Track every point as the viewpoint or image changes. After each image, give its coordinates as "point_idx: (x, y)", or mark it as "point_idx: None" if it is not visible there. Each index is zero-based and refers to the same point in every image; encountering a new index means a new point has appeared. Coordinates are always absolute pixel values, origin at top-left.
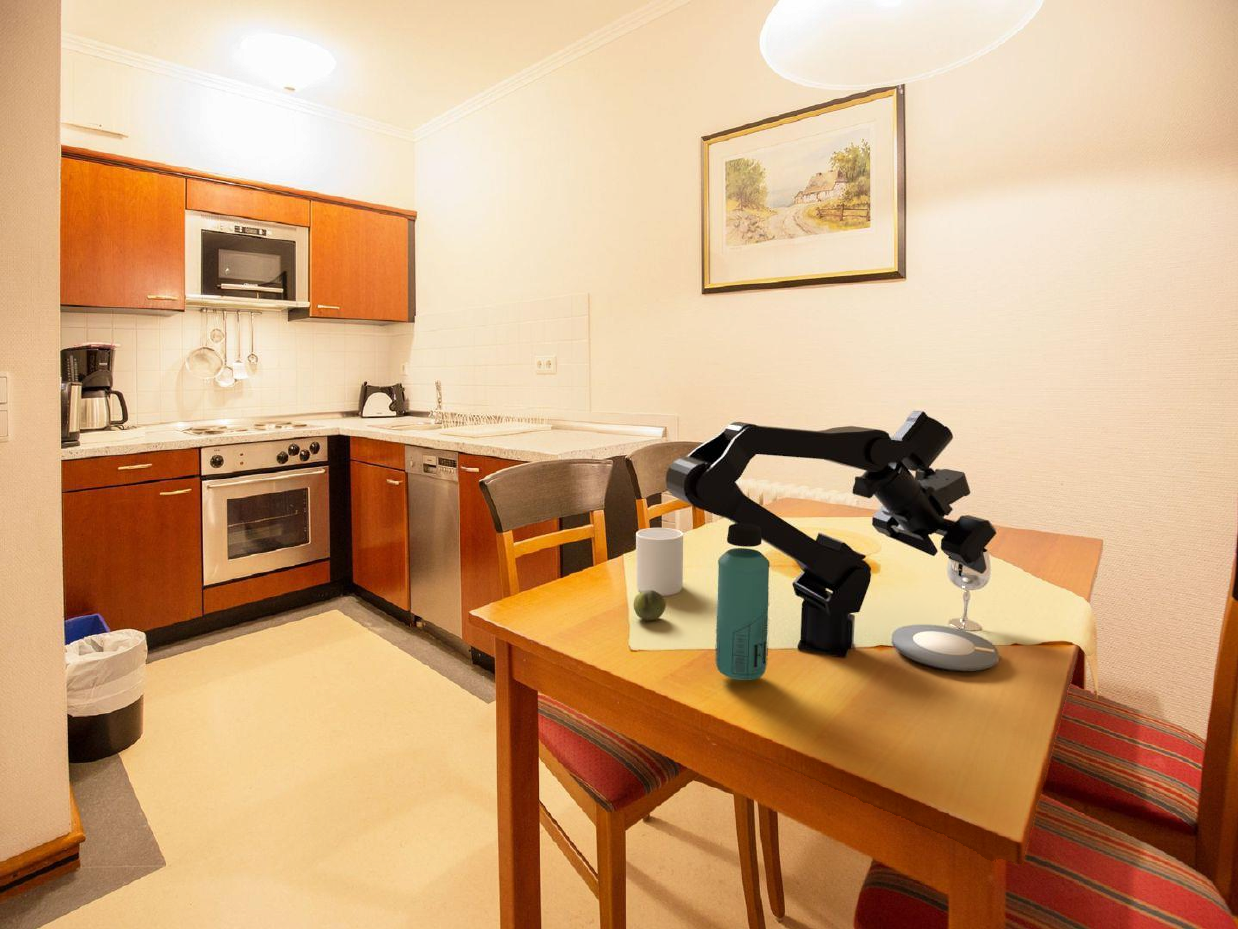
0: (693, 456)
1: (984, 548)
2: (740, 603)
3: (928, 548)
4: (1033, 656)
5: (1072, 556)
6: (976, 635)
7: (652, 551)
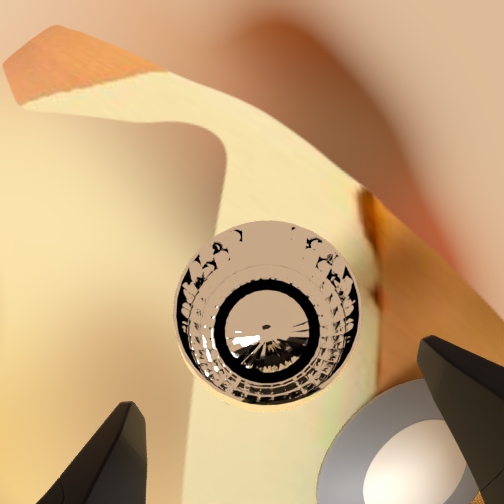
0: None
1: (267, 223)
2: None
3: (135, 461)
4: (426, 297)
5: (68, 41)
6: (395, 390)
7: None
